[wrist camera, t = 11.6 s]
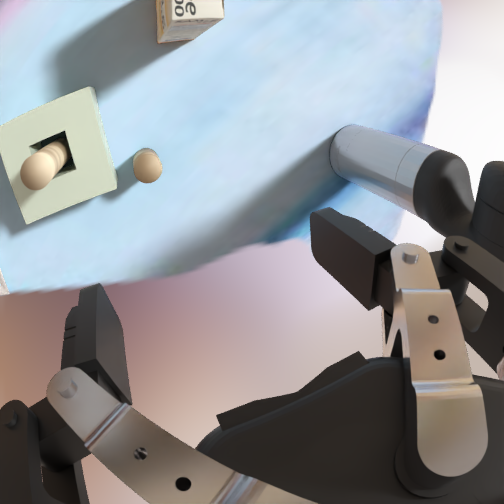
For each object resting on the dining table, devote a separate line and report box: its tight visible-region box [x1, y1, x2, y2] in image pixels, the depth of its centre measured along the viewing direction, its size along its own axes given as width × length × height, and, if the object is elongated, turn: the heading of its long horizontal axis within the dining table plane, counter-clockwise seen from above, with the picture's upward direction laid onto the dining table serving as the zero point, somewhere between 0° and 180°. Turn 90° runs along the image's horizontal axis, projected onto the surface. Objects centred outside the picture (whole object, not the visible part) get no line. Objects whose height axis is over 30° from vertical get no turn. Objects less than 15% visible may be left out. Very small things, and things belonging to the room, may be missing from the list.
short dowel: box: [133, 148, 162, 183], centre depth 34 cm, size 3×3×5 cm
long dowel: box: [20, 138, 72, 190], centre depth 26 cm, size 3×3×12 cm
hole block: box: [0, 86, 118, 224], centre depth 29 cm, size 12×12×5 cm
